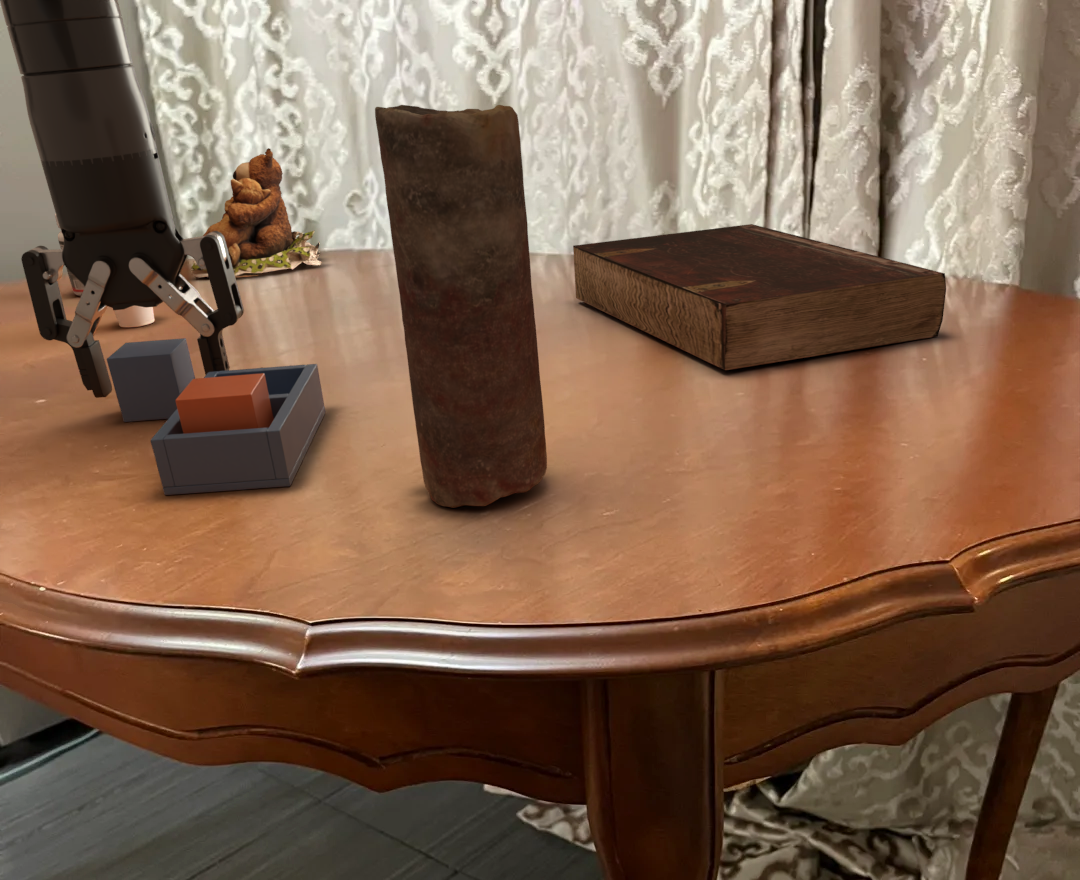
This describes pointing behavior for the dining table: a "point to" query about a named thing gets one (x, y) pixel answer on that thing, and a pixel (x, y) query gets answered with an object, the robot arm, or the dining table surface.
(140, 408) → the blue block
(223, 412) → the terracotta block
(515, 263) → the brown tall block
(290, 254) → the bear figurine
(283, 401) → the tray
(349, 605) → the dining table surface
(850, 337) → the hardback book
